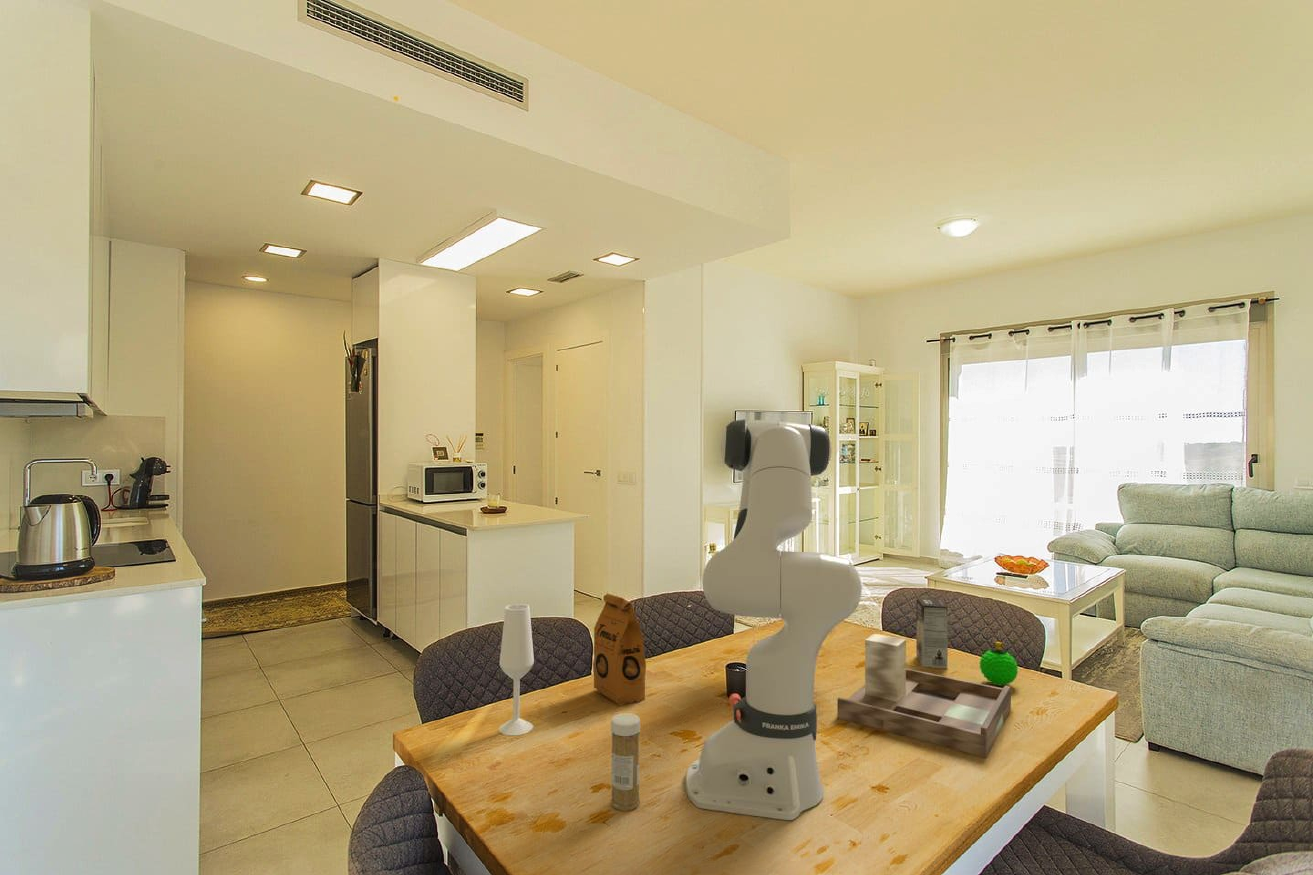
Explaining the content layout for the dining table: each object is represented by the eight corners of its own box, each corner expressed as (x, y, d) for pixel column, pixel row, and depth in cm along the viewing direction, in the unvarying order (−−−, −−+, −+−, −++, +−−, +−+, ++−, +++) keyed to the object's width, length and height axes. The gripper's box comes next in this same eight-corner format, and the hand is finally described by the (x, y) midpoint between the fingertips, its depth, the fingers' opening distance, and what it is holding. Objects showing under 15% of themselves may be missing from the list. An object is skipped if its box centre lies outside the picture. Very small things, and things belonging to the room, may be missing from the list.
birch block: (865, 694, 141) (865, 639, 142) (874, 686, 146) (874, 633, 146) (897, 702, 137) (897, 645, 137) (905, 693, 142) (905, 639, 142)
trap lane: (837, 717, 134) (837, 693, 134) (880, 679, 156) (880, 658, 156) (985, 757, 117) (985, 730, 117) (1010, 708, 139) (1010, 685, 139)
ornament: (985, 675, 159) (986, 635, 160) (1022, 684, 154) (1022, 642, 154) (974, 684, 154) (974, 642, 154) (1012, 693, 148) (1012, 650, 148)
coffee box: (915, 656, 174) (915, 596, 174) (940, 657, 173) (940, 598, 173) (922, 667, 165) (922, 604, 165) (948, 669, 164) (949, 606, 164)
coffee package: (611, 709, 137) (612, 606, 137) (588, 689, 148) (589, 594, 148) (652, 700, 142) (653, 601, 142) (626, 682, 153) (627, 589, 153)
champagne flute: (538, 730, 127) (539, 608, 127) (504, 738, 123) (506, 612, 123) (526, 718, 132) (527, 601, 133) (494, 725, 129) (495, 605, 129)
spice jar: (645, 801, 102) (645, 716, 102) (628, 815, 98) (629, 726, 98) (621, 792, 104) (622, 709, 104) (604, 806, 100) (605, 719, 100)
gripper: (776, 592, 147) (834, 601, 138) (812, 578, 163) (867, 585, 155) (776, 620, 147) (834, 631, 138) (812, 603, 163) (866, 612, 155)
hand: (852, 607), depth 147 cm, fingers closed
